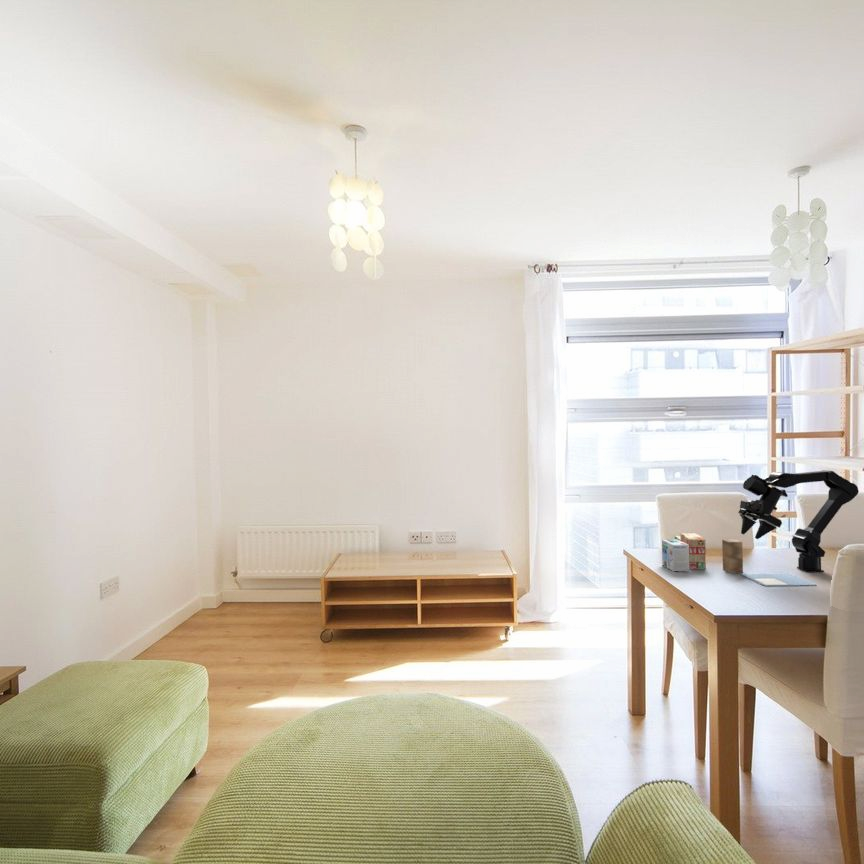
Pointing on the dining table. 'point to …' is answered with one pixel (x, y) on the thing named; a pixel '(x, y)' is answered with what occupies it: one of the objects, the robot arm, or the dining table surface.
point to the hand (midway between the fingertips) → (749, 536)
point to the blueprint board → (777, 579)
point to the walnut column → (732, 556)
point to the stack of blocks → (694, 549)
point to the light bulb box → (675, 555)
